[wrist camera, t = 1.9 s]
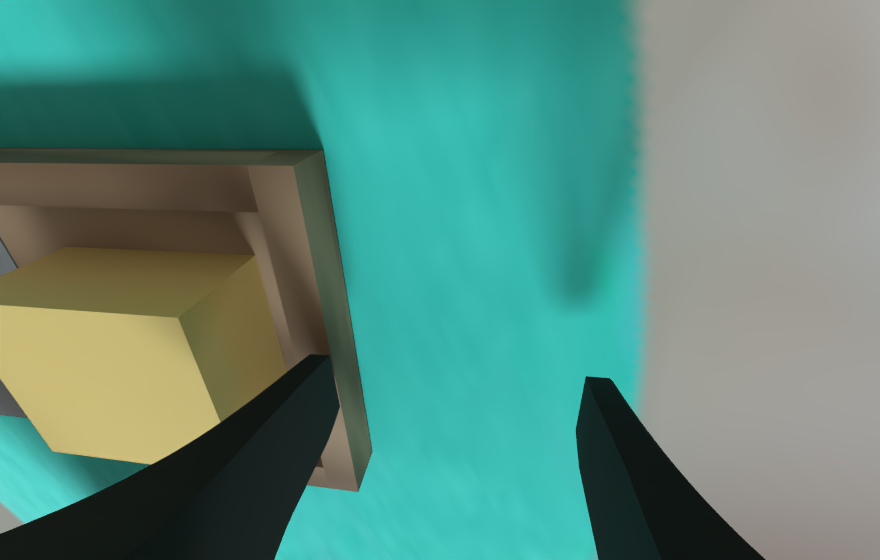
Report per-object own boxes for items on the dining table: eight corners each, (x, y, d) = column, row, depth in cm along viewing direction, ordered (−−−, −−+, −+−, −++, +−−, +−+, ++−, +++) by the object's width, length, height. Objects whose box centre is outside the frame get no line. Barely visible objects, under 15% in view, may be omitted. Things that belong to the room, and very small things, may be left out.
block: (293, 395, 16) (242, 476, 13) (134, 379, 17) (52, 451, 14) (255, 255, 13) (177, 317, 10) (65, 246, 14) (-56, 301, 11)
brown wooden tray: (372, 452, 17) (358, 491, 16) (118, 422, 19) (84, 455, 18) (323, 149, 11) (293, 165, 10) (-40, 148, 13) (-114, 161, 12)
